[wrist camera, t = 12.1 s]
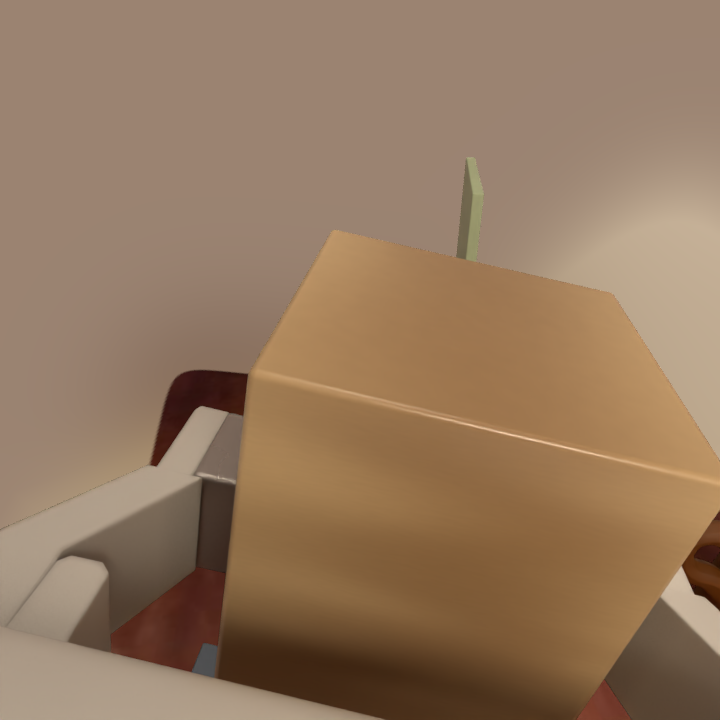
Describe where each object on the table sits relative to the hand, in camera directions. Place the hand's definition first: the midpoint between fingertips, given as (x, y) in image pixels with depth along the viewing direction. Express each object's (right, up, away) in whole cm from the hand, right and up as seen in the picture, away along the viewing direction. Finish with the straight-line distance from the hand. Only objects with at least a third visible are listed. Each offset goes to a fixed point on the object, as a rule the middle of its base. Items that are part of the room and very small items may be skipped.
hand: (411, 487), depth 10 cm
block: (-1, -4, +1) cm, 4 cm away
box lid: (+7, +9, +34) cm, 36 cm away
